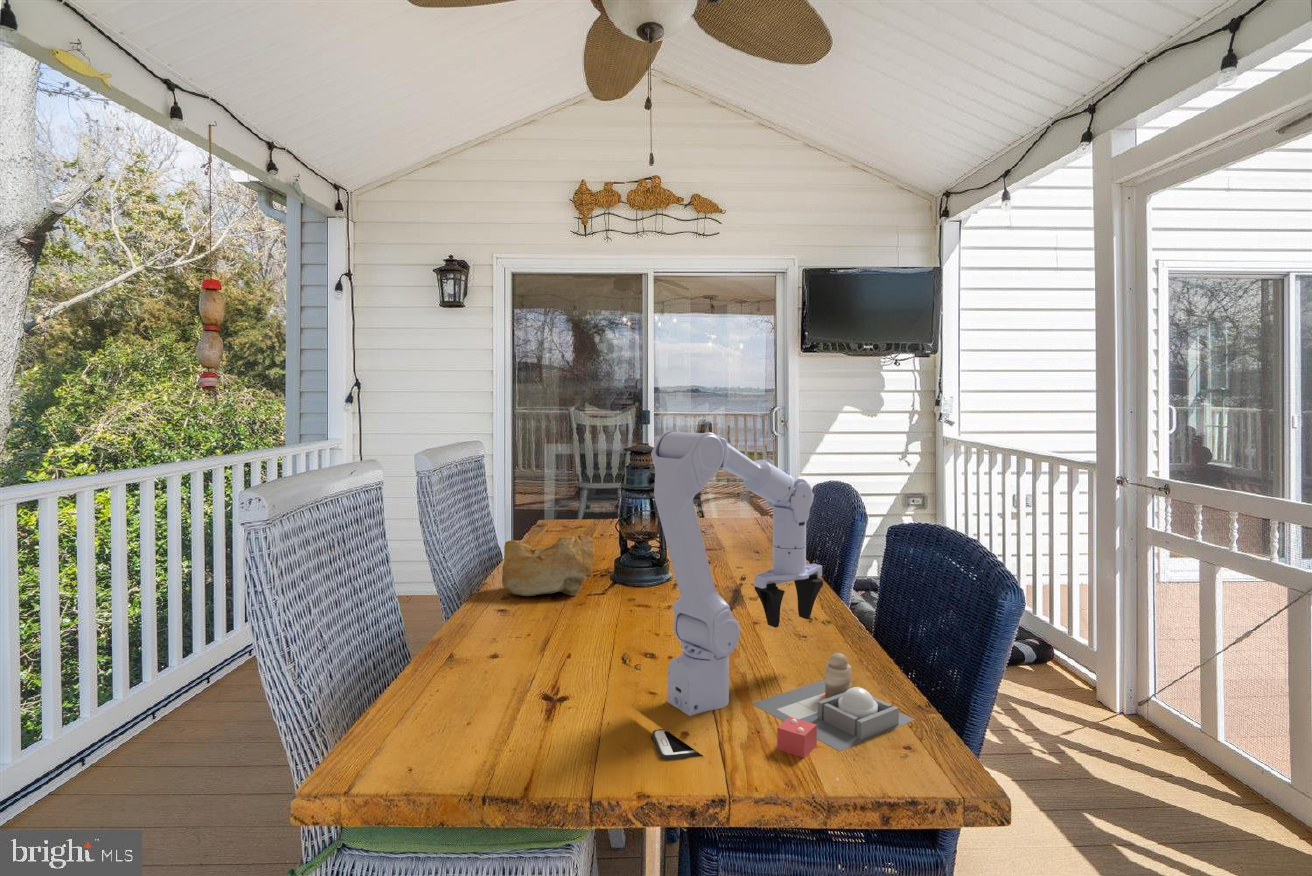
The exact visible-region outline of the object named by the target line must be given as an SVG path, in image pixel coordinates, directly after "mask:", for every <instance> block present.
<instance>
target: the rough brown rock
mask: <svg viewBox="0 0 1312 876" xmlns="http://www.w3.org/2000/svg"><path fill="white" fill-rule="evenodd" d="M503 549H504V551H503V552H504V554H503V565H502V575H501V576H502V577H501V583H502V586H503V588H504V589H506V590H507V591H509V592H511V594H513V595H515V596H523V597H534V596H537V595H544V594H554V593H555V594H556V593H557V592H558V593H559V592H561V593H563V594H565V595H566V596H577V595H578V594H580V591H581V590H582V587H583V585H584V581H585V580H586V579H588V578H590V577H592V575H593V572H594V566H595V555H594V554H595V543H594V541H593V538H592V537H590V536H589V535H585V534H579V535H567V536H566V535H565V536H562V537H559V539H558V540H557V541H556V542H555V543H554V544H552V545H549V546H546V547H541V548H540V547H539V548H533V547H532V546H531V545H528V544H526V543H525V542H524V541H522V540H515V539H511V540H508V541H506V542H505V543H504V547H503Z"/></svg>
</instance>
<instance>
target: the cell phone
mask: <svg viewBox="0 0 1312 876" xmlns="http://www.w3.org/2000/svg"><path fill="white" fill-rule="evenodd" d="M651 735H652V736H651V737H652V740H653V743H654V745H655V746H656V750H657V752H658V755H659V758H661V759H662V760H664V761H672V760H681V759H690V758H698V757H704V755H703V754H701V753H700V752H698V750H695V749H694V748H692V746H690V745H688V744H687V743H685V742H684V741H682V740H681V739H680V738H678V737H677V736H675V735H674V734H672V733H671V732H669V731H668V730H666V729H665V728H662V729H661V728H660V729H655V730H653V731H652V734H651Z"/></svg>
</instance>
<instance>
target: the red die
mask: <svg viewBox="0 0 1312 876" xmlns="http://www.w3.org/2000/svg"><path fill="white" fill-rule="evenodd" d="M776 730H777V731H776V732H777V733H776V735H777V736H776V738H777V739H776V750H779V751H782V752H785V753H786V754H787V753H788V754H791V755H794V756H797V757H800V758H803V759H805V758H806V757H807V756H808V755H809V754H810V753H811V752H812V751H813V750H814V749H816V748H817V742H818V741H817V724H813V723H810V722H806V721H803V720H799V719H796V718H792V717H789V718H788V719H787V720H786V721H785V722H784V721H782V723H781V724H780V725H778V727H777V728H776Z"/></svg>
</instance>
